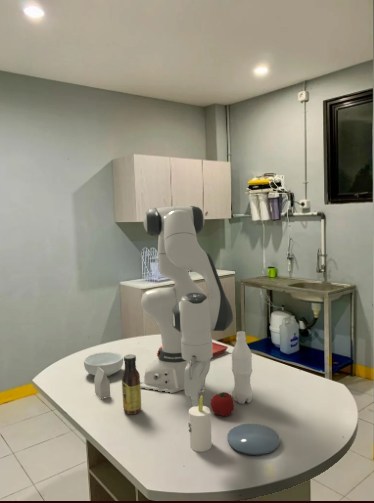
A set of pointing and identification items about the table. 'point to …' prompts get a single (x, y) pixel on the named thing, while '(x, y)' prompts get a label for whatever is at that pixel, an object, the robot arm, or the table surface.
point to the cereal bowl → (104, 362)
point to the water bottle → (242, 369)
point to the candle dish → (253, 439)
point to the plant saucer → (218, 349)
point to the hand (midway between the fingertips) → (198, 397)
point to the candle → (200, 427)
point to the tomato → (222, 404)
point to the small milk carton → (101, 384)
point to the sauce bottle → (131, 386)
